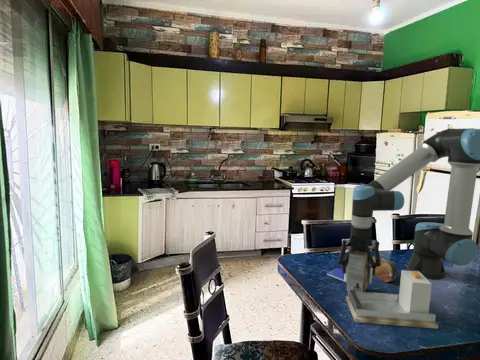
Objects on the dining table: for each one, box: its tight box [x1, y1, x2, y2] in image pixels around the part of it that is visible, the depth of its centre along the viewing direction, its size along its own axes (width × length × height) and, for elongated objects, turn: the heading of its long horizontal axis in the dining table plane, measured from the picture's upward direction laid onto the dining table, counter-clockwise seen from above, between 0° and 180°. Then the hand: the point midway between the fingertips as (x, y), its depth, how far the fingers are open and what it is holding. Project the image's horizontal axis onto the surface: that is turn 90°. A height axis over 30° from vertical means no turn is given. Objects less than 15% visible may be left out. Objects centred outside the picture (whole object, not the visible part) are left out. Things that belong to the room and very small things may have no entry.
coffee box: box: [346, 247, 371, 292], centre depth 132 cm, size 9×6×16 cm
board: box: [345, 295, 439, 330], centre depth 118 cm, size 26×16×1 cm, turn 84°
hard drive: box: [326, 267, 345, 282], centre depth 147 cm, size 2×8×12 cm
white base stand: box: [347, 290, 437, 323], centre depth 118 cm, size 25×13×4 cm, turn 84°
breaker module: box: [398, 269, 433, 313], centre depth 116 cm, size 6×10×13 cm, turn 174°
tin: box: [369, 255, 398, 283], centre depth 146 cm, size 15×3×8 cm, turn 18°
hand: (357, 281), depth 133 cm, fingers closed on coffee box, 8 cm apart
